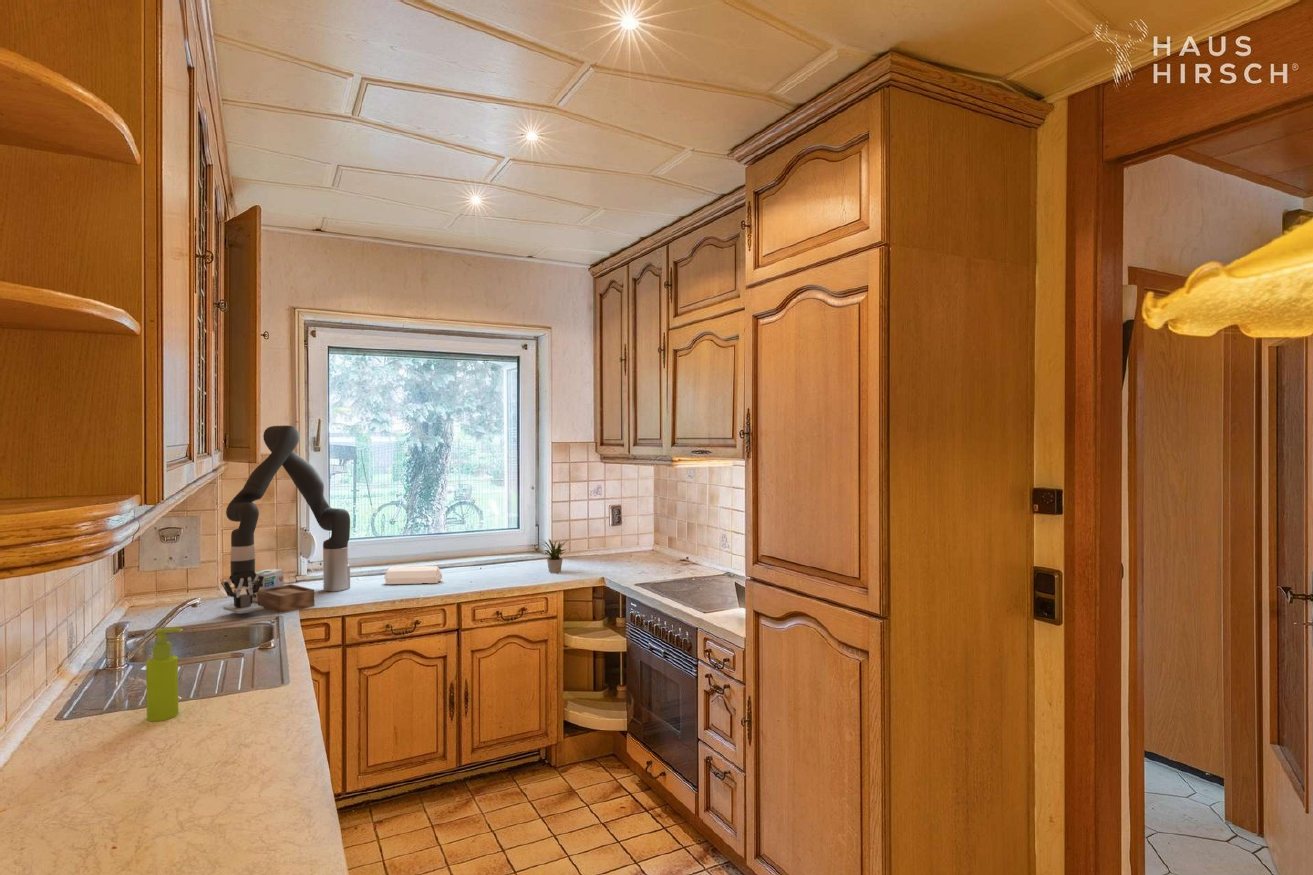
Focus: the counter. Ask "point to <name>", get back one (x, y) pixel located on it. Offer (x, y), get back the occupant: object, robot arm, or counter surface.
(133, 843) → the counter surface
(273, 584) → the light bulb box
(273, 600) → the walnut box
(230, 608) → the cover plate
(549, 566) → the house plant
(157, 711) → the soap dispenser
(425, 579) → the pale wooden prism
